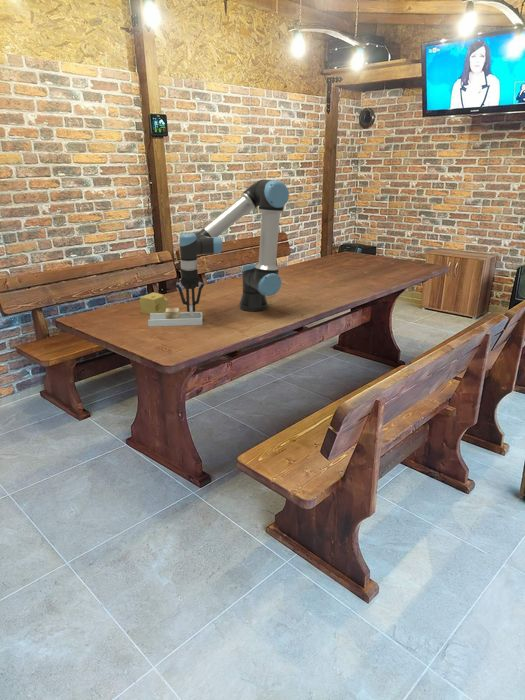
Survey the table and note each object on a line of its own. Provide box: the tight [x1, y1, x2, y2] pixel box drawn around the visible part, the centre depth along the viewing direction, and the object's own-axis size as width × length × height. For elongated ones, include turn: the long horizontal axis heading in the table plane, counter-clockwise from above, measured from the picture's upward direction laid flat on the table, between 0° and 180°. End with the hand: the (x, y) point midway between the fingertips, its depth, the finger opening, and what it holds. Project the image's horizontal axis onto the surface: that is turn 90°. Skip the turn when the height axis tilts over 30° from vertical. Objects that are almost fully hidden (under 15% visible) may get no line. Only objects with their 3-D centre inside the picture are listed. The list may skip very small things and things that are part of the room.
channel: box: [147, 311, 204, 328], centre depth 232 cm, size 25×11×4 cm, turn 97°
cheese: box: [139, 292, 170, 315], centre depth 246 cm, size 10×11×10 cm
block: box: [165, 307, 180, 319], centre depth 231 cm, size 6×6×6 cm
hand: (191, 318), depth 232 cm, fingers closed
